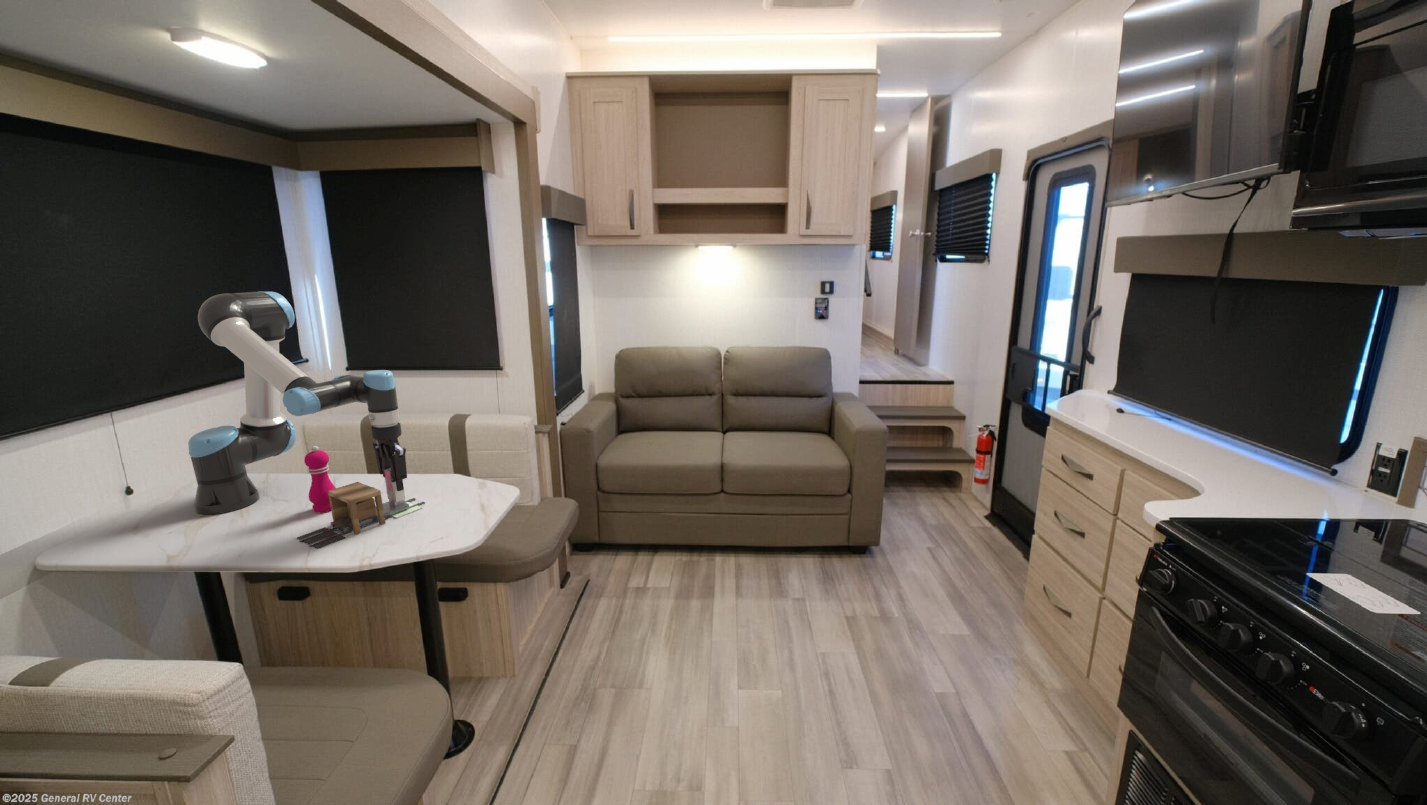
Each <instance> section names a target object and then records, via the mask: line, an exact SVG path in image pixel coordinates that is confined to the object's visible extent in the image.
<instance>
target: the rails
mask: <svg viewBox="0 0 1427 805" xmlns="http://www.w3.org/2000/svg"><path fill="white" fill-rule="evenodd" d="M414 501H416V498H415V497H413V498H409V499H407V500H405V503H406V502H409V503H411V502H414ZM414 504H415V503H414ZM424 504H426V502H425V501H421V502H418V503H416V504H415V505H413V506H410V507H409V508H412V507H415V506H420V507H421V506H423V505H424ZM409 508H408V509H409ZM405 510H407V509H405ZM402 511H404V510H402ZM402 511H400V512H402ZM397 513H399V512H397ZM394 514H396V513H394ZM394 514H392V515H394ZM391 517H392V516H391V515H389V516H387V517H385V520H386V519H388V518H391ZM376 523H379V521H378V520H376V521H373V522H371V523H368V524H365V525H363V526H360V529H362V528H365V527H367V526H369V525H372V524H376ZM330 530H332V531H336V530H337V529H336V528H334V527H331V528H328V530H325V531H322V532H320V533H317V534H314V535H312V536H309V537H306V538H303V539H301V540H299V539H298V540H299V543H304V542H303V540H306V539H309V538H312V537H314V536H317V535H320V534H322V533H325V532H328V531H330ZM352 532H354V531H353V529H352V530H350V531H347V532H342V531H340V532H339V533H338V534H336V535H333V536H331V537H328V538H325V539H323V540H320V541H317V542H315V543H312V544H308V547H309V548H312V547H313V546H312V545H315V544H318V543H320V542H323V541H325V540H328V539H331V538H333V537H336V536H339V535H342V536H345V535H346V534H349V533H352ZM313 548H314V547H313Z"/></svg>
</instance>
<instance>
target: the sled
mask: <svg viewBox="0 0 1427 805" xmlns="http://www.w3.org/2000/svg"><path fill="white" fill-rule="evenodd" d="M384 471H385V478H386V483H385V485H386V484H387V489H386V492H387V491H388V496H387V499H388V498H389V499H388V501H386V502H384V503H383V502H382V504H383V511H384V517H387V516H389V515H392V514H394V513H397V512H400V511H402V510H405V509H408V508H409V504H407V503H405V501H406V500H405V499H406V498H405V499H403V500H401V501H398V502H395V498H394V491H393V485H392V481H391V480H394V479H393V475H392V471H391V468H388V469H385V470H384ZM385 478H384V479H385ZM375 507H376V505H375ZM376 514H377V509H376ZM376 520H378V515H374V516H372V517H369V518H366V519H364V520H361V521H359V525H360V526H363V525H365V524H368V523H371V522H373V521H376ZM330 526H331V528H333V527H334V528H336V530H338V531H340V532H347V531H350V530H352V529H353V525H352V519H351V518H350V517H349V516H347V517H344V518H341V519H338V520H336V521H333V520H332V521H331V522H330Z"/></svg>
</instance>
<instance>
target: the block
mask: <svg viewBox="0 0 1427 805" xmlns="http://www.w3.org/2000/svg"><path fill="white" fill-rule="evenodd" d="M375 506H376V503H375V497H372V498H369V499H366V500H363V501H360V502H357V503H356V507H357V513H358V519H359V521H361V520H364V519H366V518H369V517H372V516H374V515H377V514H376V507H375ZM347 507H348V513H349V517H350V518H351V513H350V507H349V503H347Z"/></svg>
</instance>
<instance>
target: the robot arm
mask: <svg viewBox="0 0 1427 805" xmlns="http://www.w3.org/2000/svg"><path fill="white" fill-rule="evenodd" d="M295 317H296V316H295V313H294V308H293V307H292V305H291V304H290V302H289V301H288V299H287V298H285V296H283V295H282V294H280V293H278V292H275V291H263V290H262V291H260V290H258V291H251V292H250V291H249V292H248V291H246V292H235V293H232V292H231V293H228V292H227V293H220V294H215V295H212V296H211V297H209V298H208V299H206V300H205V301H203V302H202V304H201V306H200V308H199V310H198V314H197V321H198V326H199V328H200V330H201V332H202V333H203V334H204V335H205V336H206V338H208V339H209V340H210V341H212V343H213V344H215V345H217V346H219V347H225V348H226V349H227V350H229V351H230V352H231V353H232V354H233V355H234V356H236V357H237V358H238V359H239V360H241V361H242V362H243V365H244V366H243V367H244V369H243V370H244V391H245V395H244V396H245V414H243V415H242V416H241V417H240V418H239V424H240V426H239V427H236V426H235V425H222V426H221V425H220V426H217V427H211V428H208V429H204V430H202V431H200V432H197V433H195V434H194V435H192V436H191V437H190V438H189V440H188V442H187V443H188V444H187V445H188V455H189V456H190V460H191V462H192V468H193V472H194V476H195V479H196V482H197V483H196V484H197V489H196V493H195V498H194V503H193V506H194V509H195V512H196V513H198V514H201V515H216V514H217V515H218V514H225V513H228V512H233V511H237V510H240V509H243V508H246V507H249V506H250V505H252V504H254V503H256V502H257V501H259V500H260V494H259V493H260V492H259V490H258V489H257V487H256V485H255V484H254V483H253V482H252V479H251V478H249V476H248V473H247V472H248V471H247V465H250V464H253V463H256V462H259V461H262V460H265V459H270V458H272V457H277V456H280V455H281V454H283V453H286V452H289V451H290V450H291V449H293V447H294V445H295V443H296V439H297V433H296V432H297V431H296V428H295V427H294V424H293V422H292V421H291V420H290V419H288V418H287V416H286V415H285V413H283V412H281V394H282V395H283V396H282V402H283V403H282V404H283V406H284V407H285V408H286V411H287V412H288V413H289V414H291V415H292V416H295V417H303V416H308V415H313V414H316V413H319V412H323V411H326V410H330V409H334V408H339V407H341V406H345V405H350V404H352V403H361V404H362V403H363V404H367V410H368V411H367V412H368V417H367V418H368V419H369V421H370V425H371V427H370V430H371V436H372V438H373V439H374V440H375V442H373V443H372V446H373V449H374V453H375V458H376V459H375V460H376V462H377V468H378V473H379V474H380V475H382V477H383V478H384V482H385V488H386V494H387V496H386V497H387V499H388V500H389V498H388V491H387V484H386V478H385V471H384V470H385V469H388V468H391V471H392V475H393V479H394V480H391V481H392V485H393V491H394V498H395V502H398V501H401V500H403V499H406V493H405V488H404V479H405V480H406V479H407V478H408V473H407V462H406V459H407V458H406V452H407V449H406V448H405V447H401V446H400V442H399V437H401V435H402V433H403V432H402V431H403V430H402V427H401V426H402V425H401V423H400V421H401V418H400V412H399V411H400V410H399V405H398V396H397V388H396V386H397V385H396V382H395V378H394V374H393V372H392V371H391V370H386V369H377V370H369V371H366V372H365V373H363V375H362V376H358V375H352V374H346V375H343V374H342V375H341V374H340V375H336V376H335V377H334V378H332V379H330V380H327V381H322V382H316V381H315V380H313V379H312V377H310V376H308V375H307V374H306V373H304V372H303V371H302V369H300V368H299V367H298V366H296V365H295V364H293V362H291V361H290V360H289V359H288V358H286V357H285V356H284V355H283V354H282V353H280V342H282V341H283V340H285V338H286V330H289V329H290V328H292V327H293V325H294V323H295Z"/></svg>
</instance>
